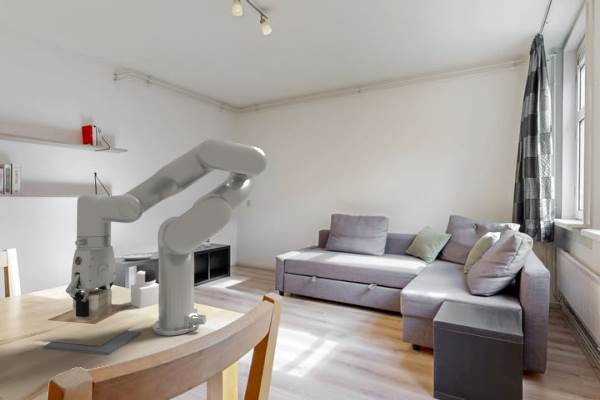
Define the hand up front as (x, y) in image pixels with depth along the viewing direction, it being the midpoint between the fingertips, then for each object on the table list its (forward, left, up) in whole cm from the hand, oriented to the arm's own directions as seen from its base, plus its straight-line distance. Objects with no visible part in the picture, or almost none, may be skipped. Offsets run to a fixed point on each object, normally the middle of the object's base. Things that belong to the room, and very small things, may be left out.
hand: (92, 311), depth 86 cm
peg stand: (+15, -16, -8) cm, 23 cm away
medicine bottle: (+4, -27, -8) cm, 29 cm away
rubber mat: (0, 0, -8) cm, 8 cm away
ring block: (0, 0, -1) cm, 1 cm away
